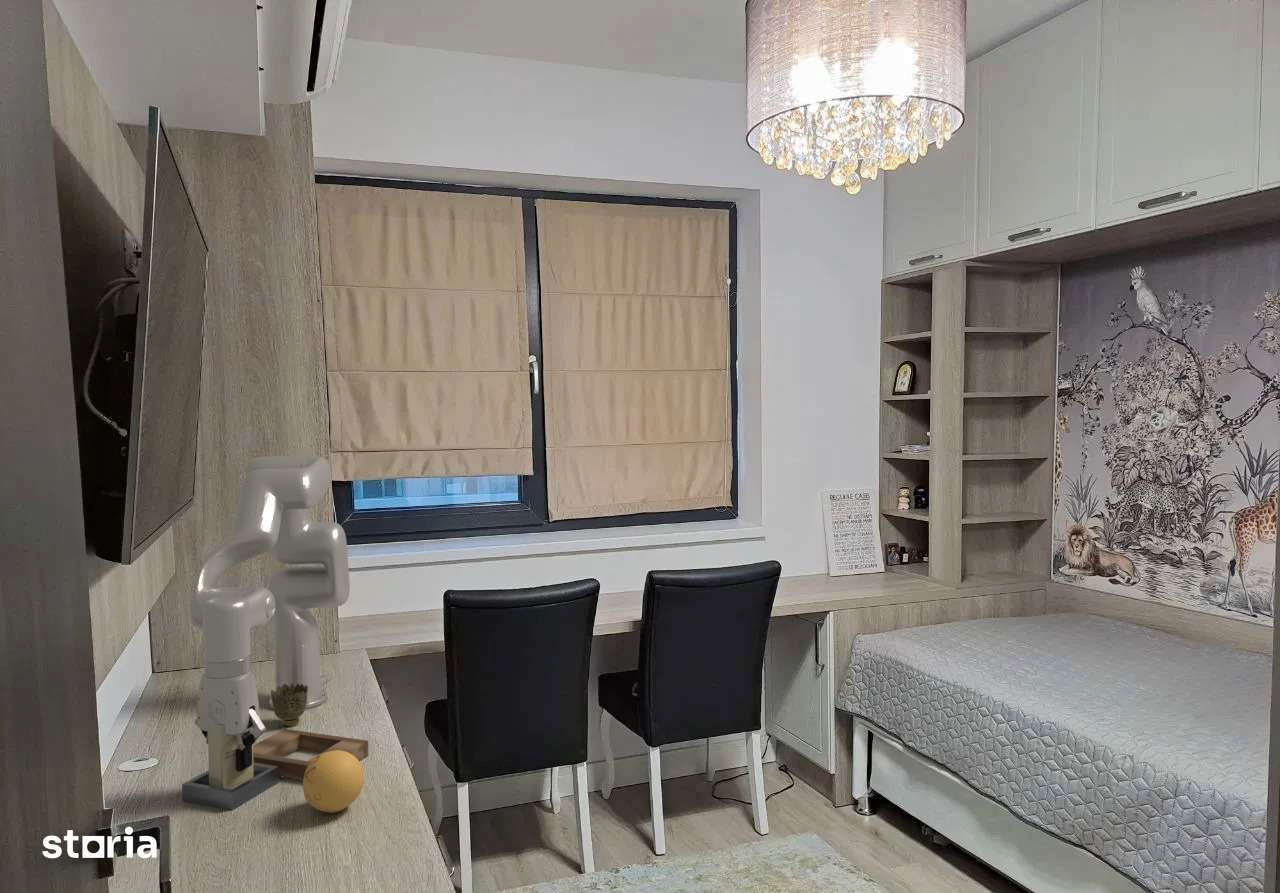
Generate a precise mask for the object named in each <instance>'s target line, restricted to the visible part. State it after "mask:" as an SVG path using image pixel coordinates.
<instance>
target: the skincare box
mask: <svg viewBox="0 0 1280 893" xmlns="http://www.w3.org/2000/svg"><path fill="white" fill-rule="evenodd" d="M252 731H253V728H252ZM243 737H244V739H245V738H246V734H245V733H244V734H243ZM253 745H254V744H252V765H251V766H250V767H248V768H246V769H244V770H242V771H241V772H239V771H237V770H236V750H237V749H239V748H238V744H237V740H236V737H235V735H227V734H225V733H224V725H220V724H215V726H214V732H208V744H207V748H208V750H207V751H208V752H207V755H208V770H209V786H214V787H219V788H225V789H231V790H232V789H234V788H236V787H238V786H239V785H241V784H243V783H245V782H246V781H248V780H250V779H252V778H253V777H254V773H253Z"/></svg>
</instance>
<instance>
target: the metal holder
mask: <svg viewBox="0 0 1280 893" xmlns="http://www.w3.org/2000/svg"><path fill="white" fill-rule="evenodd" d="M253 773H254V777H253V778H252V779H250V780H248V781H246V782H245V783H243V784H241V785H239V786H238V787H236V788H234V789H225V788H219V787H214V786H209V769H208V770H207V771H204V772H203V773H201V774H198V775H196V776H195V777H193V778H191V779H189V780H187V781H186V782H185V781H184V783H182V784H181V793H182V794H181V796H182V800H181V801H182V802H186V803H192V804H197V805H203V806H208V807H214V808H220V809H223V810H224V809H225V810H231V811H234V810H235V809H237V808H239V807H240V806H243V805H244V804H245V803H247V802H249V801H251V800H252V799H254V798H256V797H257V796H259V795H260V794H262V793H264V792H266V791H267V790H268V788H269V789H270V788H272V787H274V786H275V785H277V784H278V782H280V780H279V778H280V777H279V773H278V766H272V765H266V764H260V763H253ZM276 783H277V784H276ZM274 784H275V785H274ZM273 785H274V786H273ZM266 789H267V790H266ZM258 794H259V795H258Z"/></svg>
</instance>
